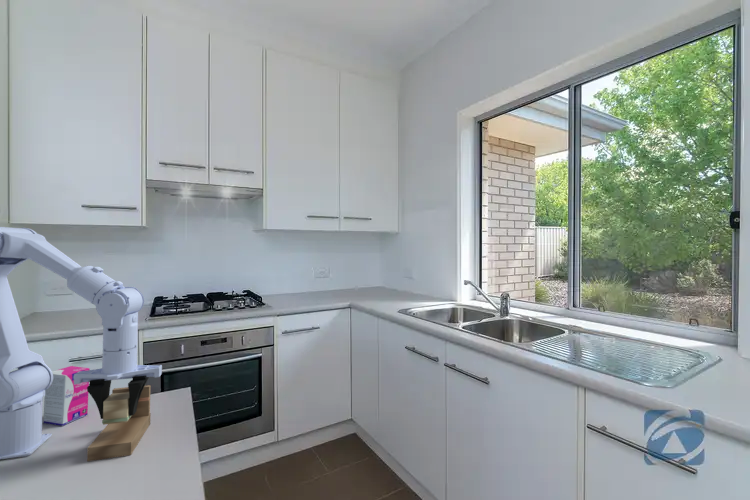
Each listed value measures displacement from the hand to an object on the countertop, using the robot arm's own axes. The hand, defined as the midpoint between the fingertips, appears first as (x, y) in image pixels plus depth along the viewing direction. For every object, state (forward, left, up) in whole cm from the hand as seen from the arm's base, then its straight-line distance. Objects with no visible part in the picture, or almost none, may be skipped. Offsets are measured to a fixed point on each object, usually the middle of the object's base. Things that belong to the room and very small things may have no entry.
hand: (118, 415), depth 71 cm
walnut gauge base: (0, +2, -6) cm, 7 cm away
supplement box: (-15, +16, -6) cm, 24 cm away
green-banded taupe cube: (0, 0, -1) cm, 1 cm away
